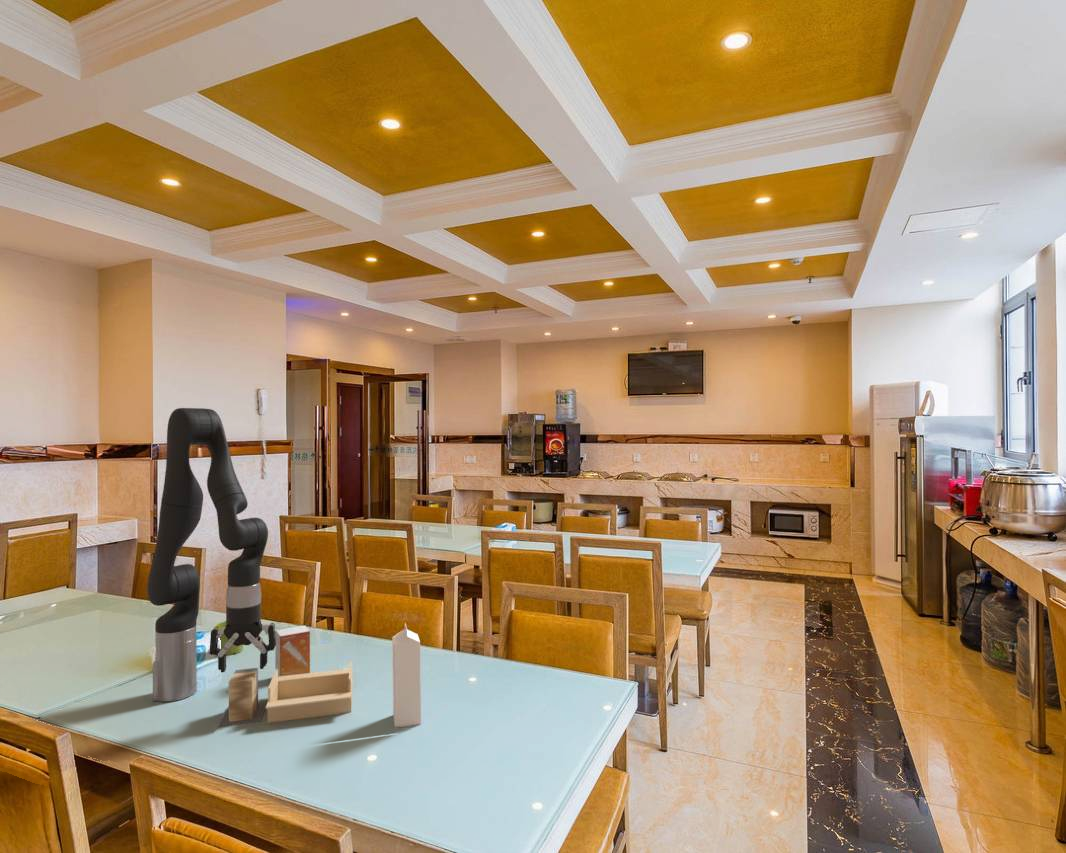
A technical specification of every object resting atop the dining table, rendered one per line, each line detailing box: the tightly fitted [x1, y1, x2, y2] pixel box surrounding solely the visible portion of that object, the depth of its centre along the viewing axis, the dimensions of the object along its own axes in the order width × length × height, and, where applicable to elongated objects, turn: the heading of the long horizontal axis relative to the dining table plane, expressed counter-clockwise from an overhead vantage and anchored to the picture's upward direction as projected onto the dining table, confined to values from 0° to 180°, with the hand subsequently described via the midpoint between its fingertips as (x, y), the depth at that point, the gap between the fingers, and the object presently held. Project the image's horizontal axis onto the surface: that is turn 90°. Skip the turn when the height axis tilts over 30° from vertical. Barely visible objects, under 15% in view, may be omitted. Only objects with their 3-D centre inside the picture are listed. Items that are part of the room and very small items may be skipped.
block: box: [228, 667, 259, 722], centre depth 145 cm, size 5×8×9 cm, turn 15°
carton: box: [265, 660, 354, 724], centre depth 149 cm, size 19×18×8 cm
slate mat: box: [217, 700, 268, 728], centre depth 145 cm, size 9×11×1 cm
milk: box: [391, 622, 422, 728], centre depth 141 cm, size 6×6×22 cm
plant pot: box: [213, 620, 244, 656], centre depth 188 cm, size 9×9×9 cm
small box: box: [274, 624, 311, 677], centre depth 167 cm, size 8×6×13 cm
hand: (243, 669), depth 145 cm, fingers open, 8 cm apart
